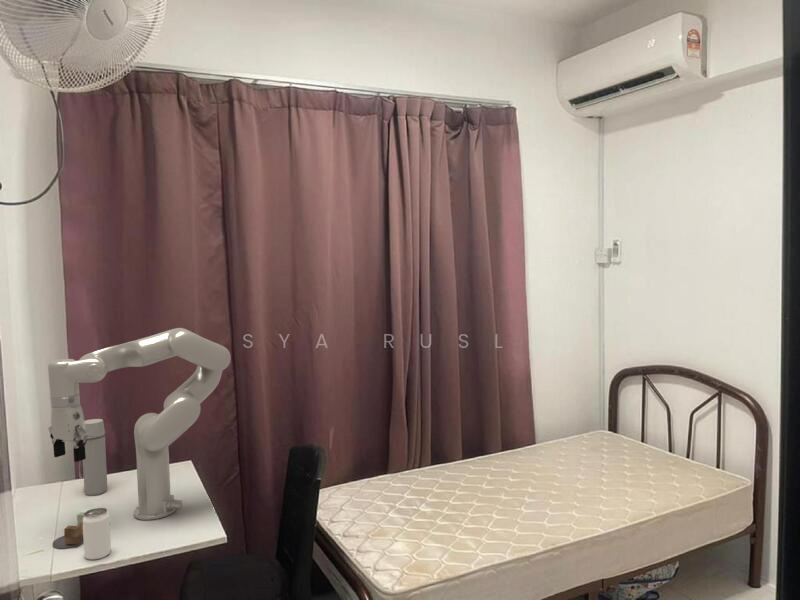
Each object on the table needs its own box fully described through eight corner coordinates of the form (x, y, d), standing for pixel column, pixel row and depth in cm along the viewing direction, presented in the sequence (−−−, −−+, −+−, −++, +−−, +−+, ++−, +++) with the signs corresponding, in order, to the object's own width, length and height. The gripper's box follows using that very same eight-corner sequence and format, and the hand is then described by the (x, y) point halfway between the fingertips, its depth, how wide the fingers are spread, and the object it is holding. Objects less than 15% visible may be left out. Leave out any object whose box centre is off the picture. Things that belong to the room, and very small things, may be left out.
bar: (99, 527, 181) (99, 512, 180) (77, 544, 170) (76, 529, 170) (88, 526, 181) (87, 512, 181) (64, 544, 170) (64, 528, 170)
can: (81, 554, 166) (78, 512, 165) (106, 546, 170) (104, 505, 169) (89, 563, 161) (86, 519, 160) (114, 554, 166) (112, 511, 165)
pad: (94, 534, 178) (94, 533, 178) (75, 549, 169) (75, 547, 169) (65, 534, 179) (65, 532, 179) (45, 548, 170) (45, 546, 170)
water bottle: (112, 487, 215) (108, 418, 213) (100, 496, 207) (97, 424, 205) (86, 488, 215) (82, 418, 213) (74, 496, 207) (70, 424, 205)
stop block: (93, 522, 187) (93, 512, 186) (89, 525, 185) (89, 515, 184) (81, 521, 187) (80, 512, 187) (77, 524, 185) (76, 515, 185)
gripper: (95, 401, 178) (99, 458, 179) (60, 396, 186) (64, 450, 188) (71, 407, 171) (75, 466, 173) (35, 401, 180) (40, 458, 181)
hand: (69, 458), depth 180 cm, fingers open, 9 cm apart
